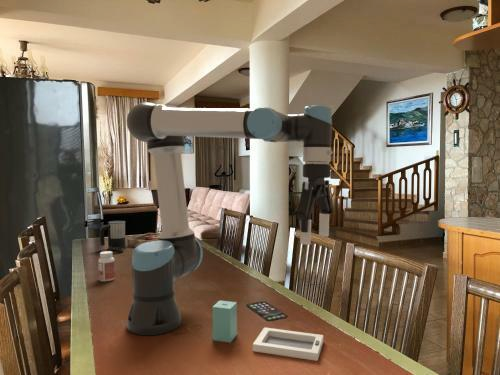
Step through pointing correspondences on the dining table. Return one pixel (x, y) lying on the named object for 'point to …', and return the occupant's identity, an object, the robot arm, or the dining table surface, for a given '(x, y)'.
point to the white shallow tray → (289, 343)
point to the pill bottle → (106, 266)
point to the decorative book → (151, 238)
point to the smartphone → (266, 311)
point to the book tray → (139, 240)
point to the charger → (224, 321)
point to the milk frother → (114, 235)
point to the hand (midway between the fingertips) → (315, 240)
